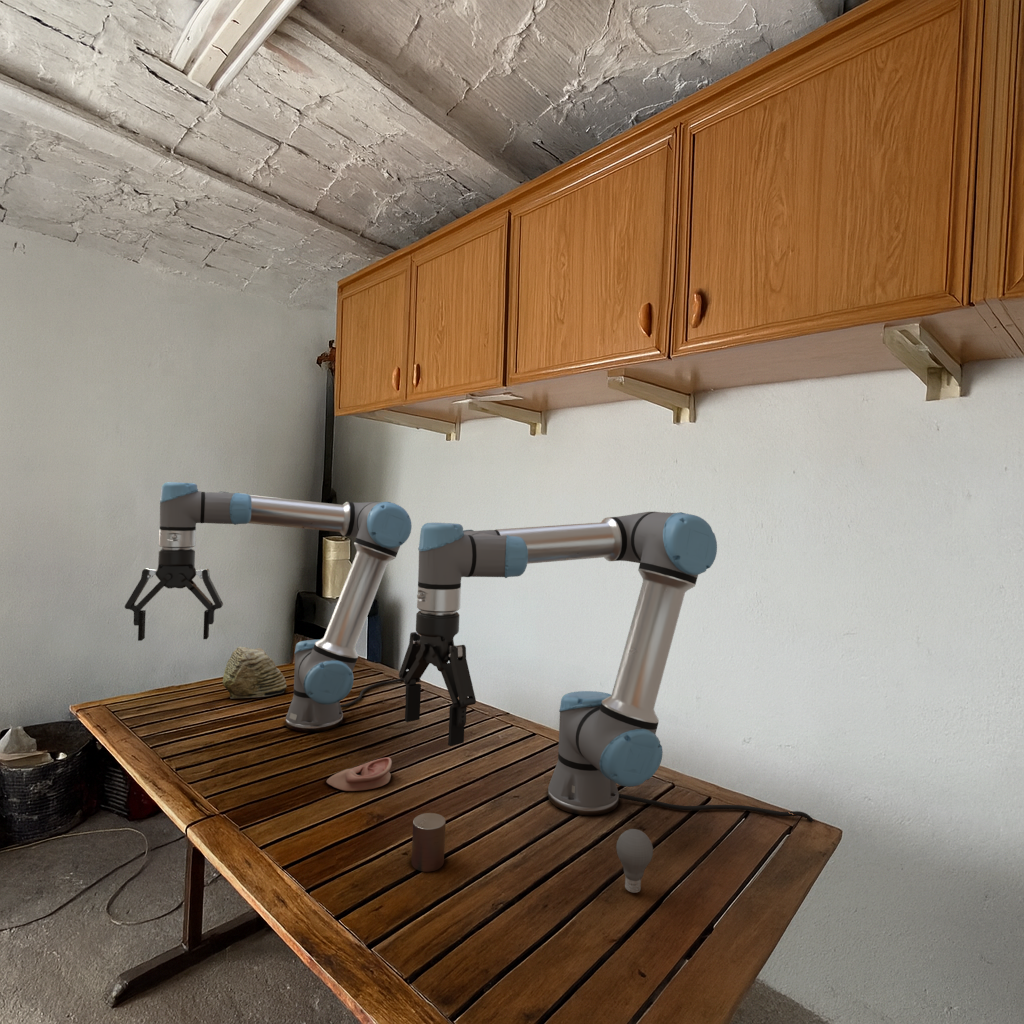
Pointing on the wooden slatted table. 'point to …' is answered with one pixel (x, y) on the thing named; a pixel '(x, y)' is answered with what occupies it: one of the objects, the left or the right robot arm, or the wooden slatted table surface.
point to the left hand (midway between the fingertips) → (174, 638)
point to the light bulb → (634, 857)
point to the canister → (428, 842)
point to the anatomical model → (363, 776)
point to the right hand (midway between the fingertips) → (433, 731)
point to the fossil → (252, 674)
